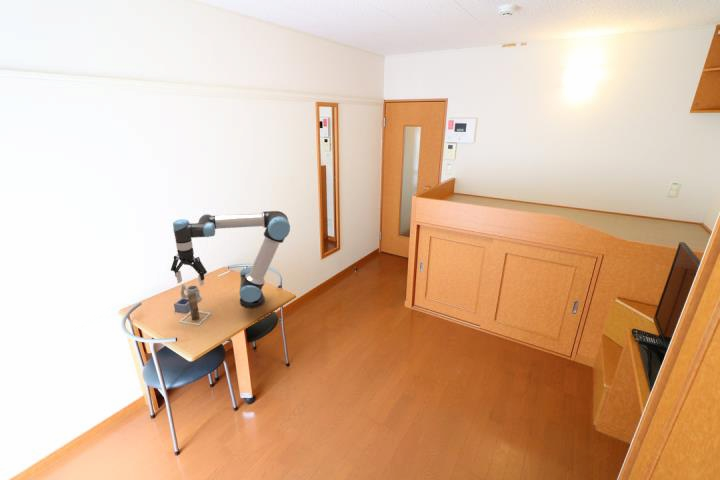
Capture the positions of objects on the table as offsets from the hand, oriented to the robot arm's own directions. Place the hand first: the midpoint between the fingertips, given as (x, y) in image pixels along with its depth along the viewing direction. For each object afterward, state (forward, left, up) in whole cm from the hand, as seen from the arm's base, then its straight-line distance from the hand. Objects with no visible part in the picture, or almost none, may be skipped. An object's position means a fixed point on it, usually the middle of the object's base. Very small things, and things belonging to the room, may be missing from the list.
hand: (190, 283), depth 184 cm
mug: (+15, -17, -24) cm, 33 cm away
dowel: (0, 0, -23) cm, 23 cm away
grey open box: (+12, -7, -23) cm, 27 cm away
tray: (0, 0, -24) cm, 23 cm away
